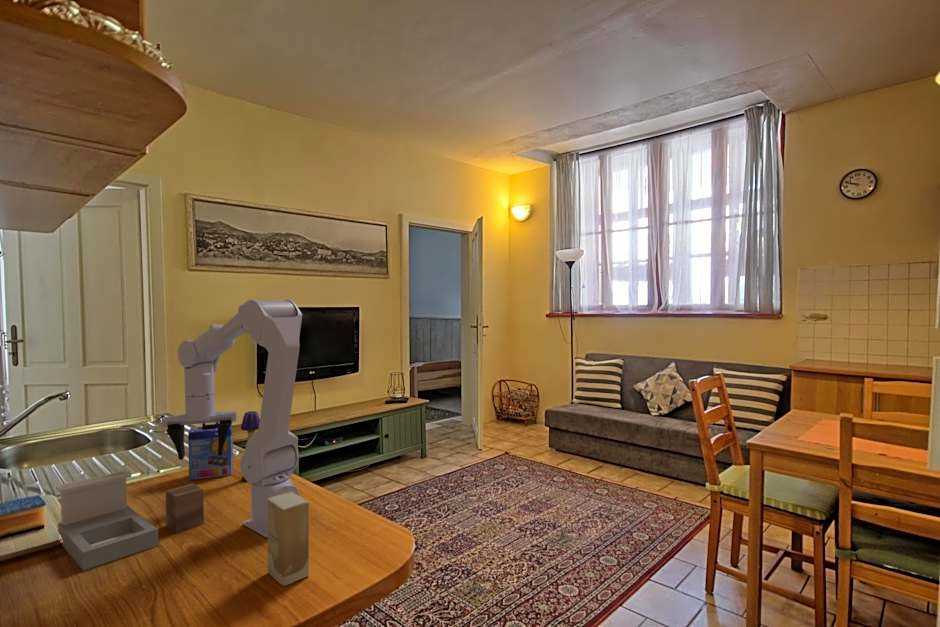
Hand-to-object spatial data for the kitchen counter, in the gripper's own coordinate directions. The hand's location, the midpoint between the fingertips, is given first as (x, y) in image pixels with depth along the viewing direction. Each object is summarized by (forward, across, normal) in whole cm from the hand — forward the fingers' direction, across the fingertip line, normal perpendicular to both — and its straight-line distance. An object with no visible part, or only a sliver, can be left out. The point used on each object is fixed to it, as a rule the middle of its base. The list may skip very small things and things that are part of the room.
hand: (201, 456), depth 110 cm
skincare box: (+11, -19, +38) cm, 44 cm away
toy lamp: (+10, -9, -12) cm, 18 cm away
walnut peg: (+10, +1, +12) cm, 16 cm away
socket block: (+10, +13, +15) cm, 22 cm away
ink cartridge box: (+10, +1, -19) cm, 21 cm away
